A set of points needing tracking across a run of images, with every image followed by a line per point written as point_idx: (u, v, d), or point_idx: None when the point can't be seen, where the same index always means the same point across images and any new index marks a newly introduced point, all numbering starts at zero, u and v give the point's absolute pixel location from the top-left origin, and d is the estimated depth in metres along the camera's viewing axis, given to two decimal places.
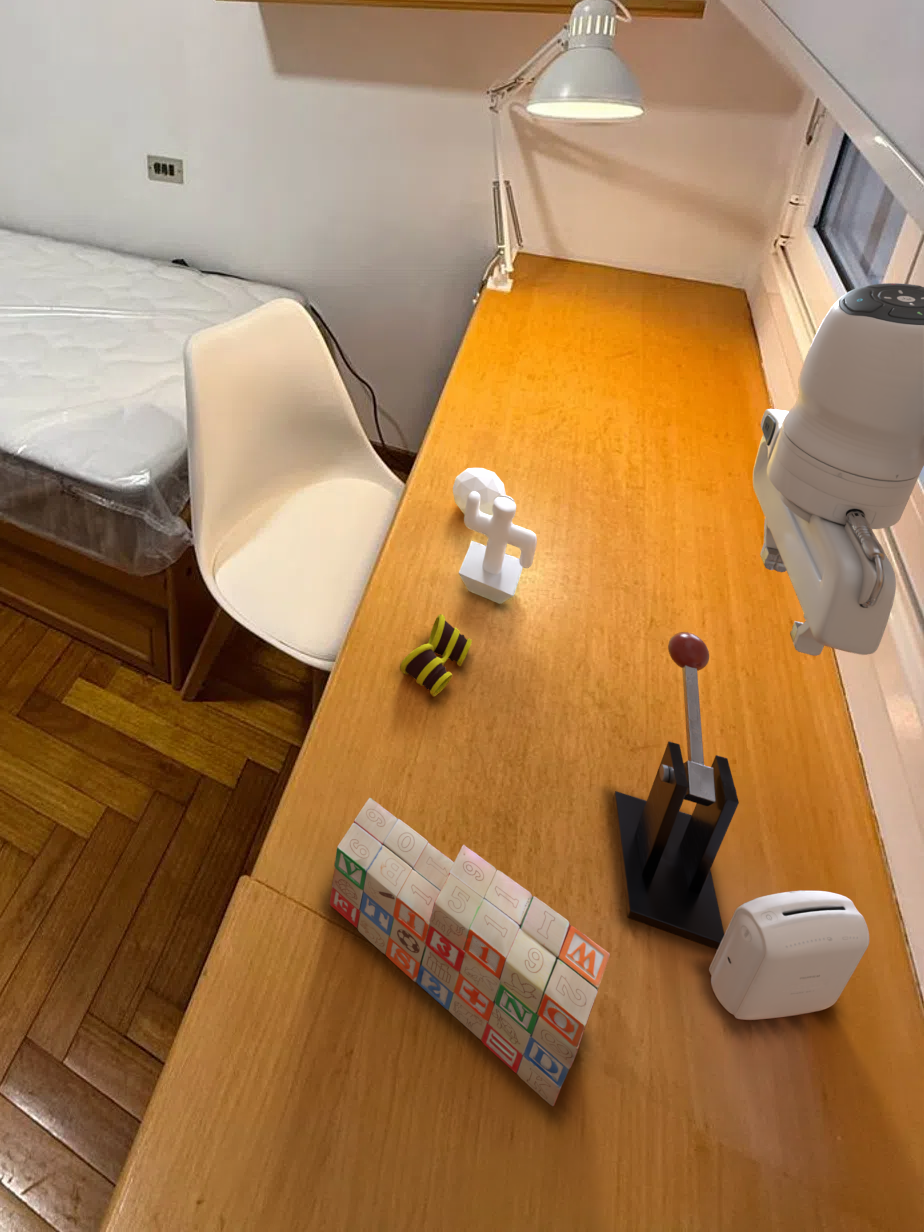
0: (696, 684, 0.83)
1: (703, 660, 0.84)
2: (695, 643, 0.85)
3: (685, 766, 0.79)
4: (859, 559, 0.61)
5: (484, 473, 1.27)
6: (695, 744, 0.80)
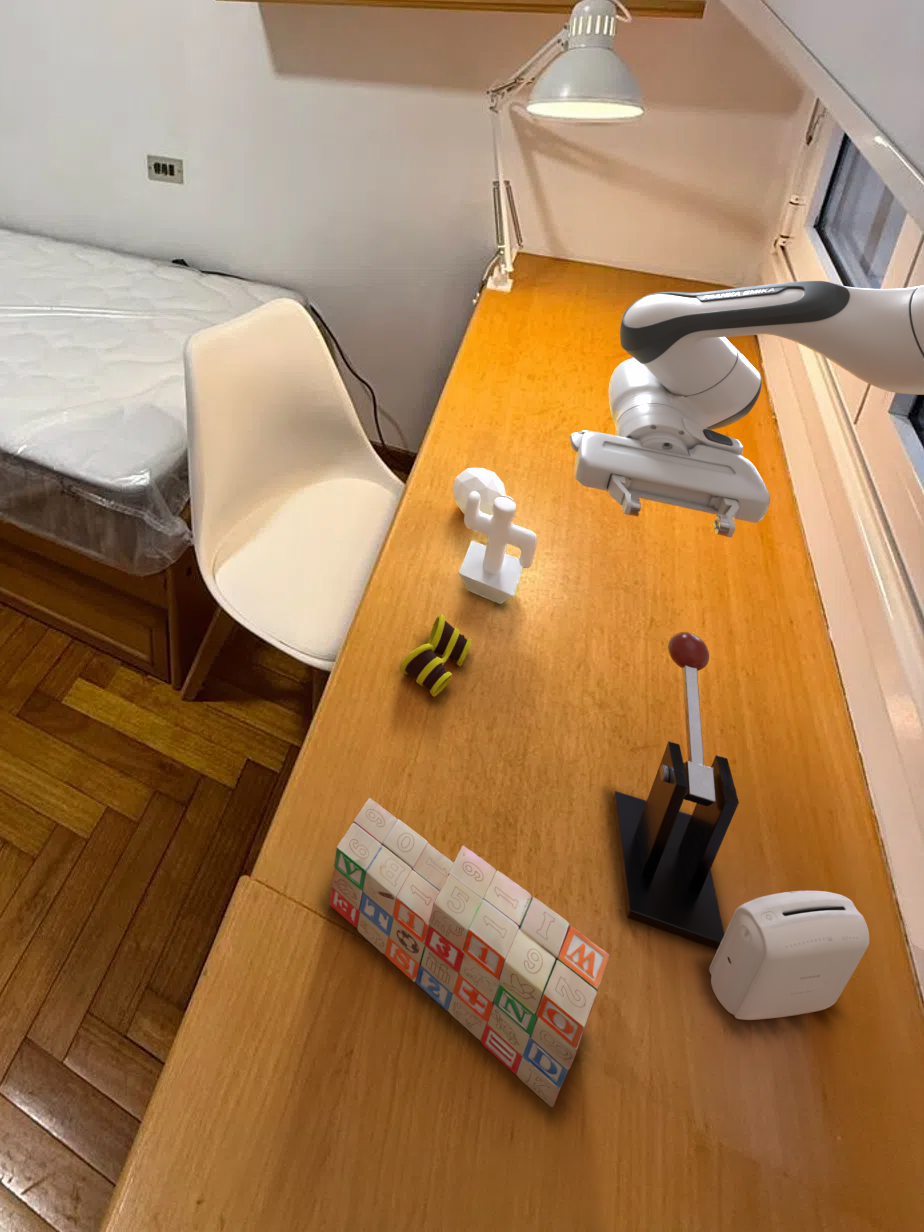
0: (696, 684, 0.83)
1: (703, 660, 0.84)
2: (695, 643, 0.85)
3: (685, 766, 0.79)
4: None
5: (484, 473, 1.27)
6: (695, 744, 0.80)
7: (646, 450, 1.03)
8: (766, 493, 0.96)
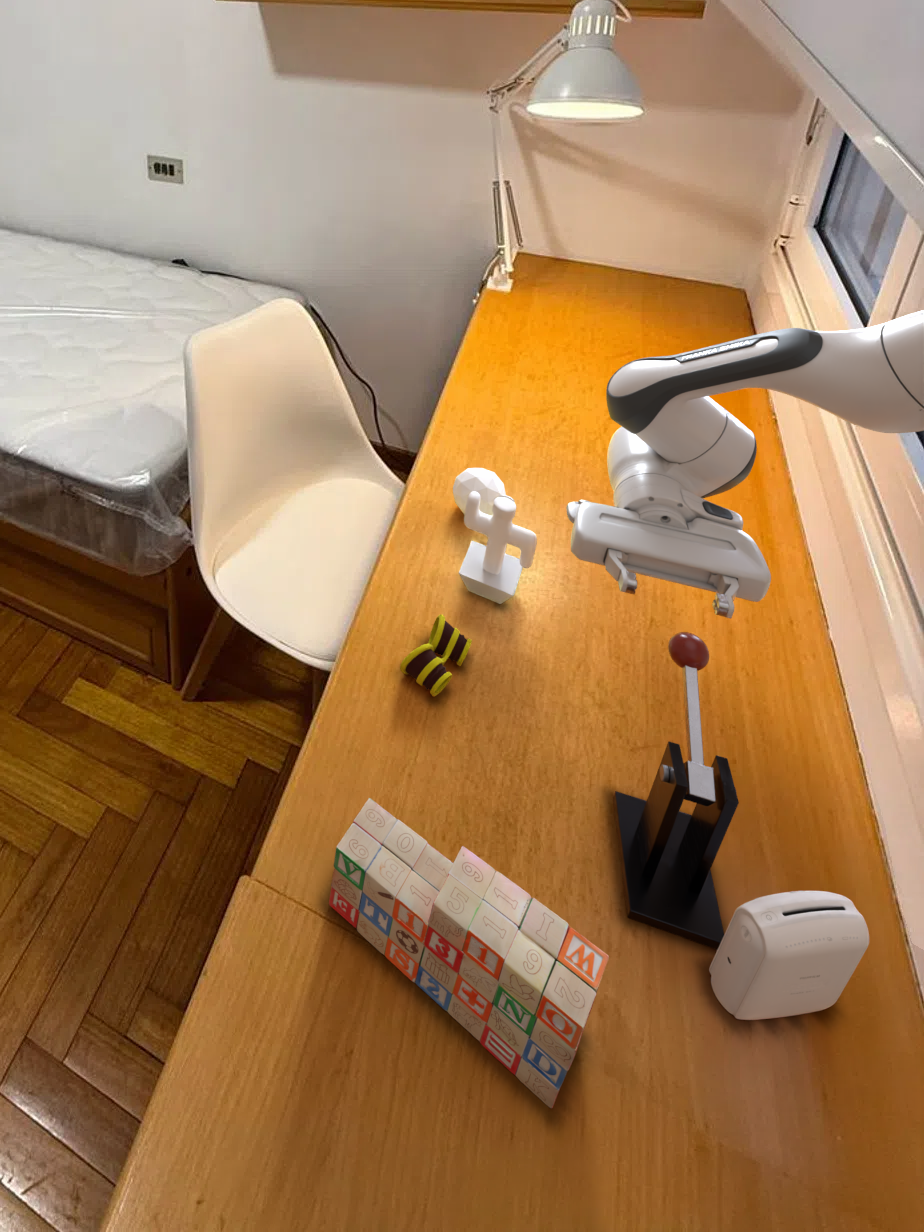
0: (696, 684, 0.83)
1: (703, 660, 0.84)
2: (695, 643, 0.85)
3: (685, 766, 0.79)
4: None
5: (484, 473, 1.27)
6: (695, 744, 0.80)
7: (643, 522, 1.01)
8: (767, 571, 0.93)
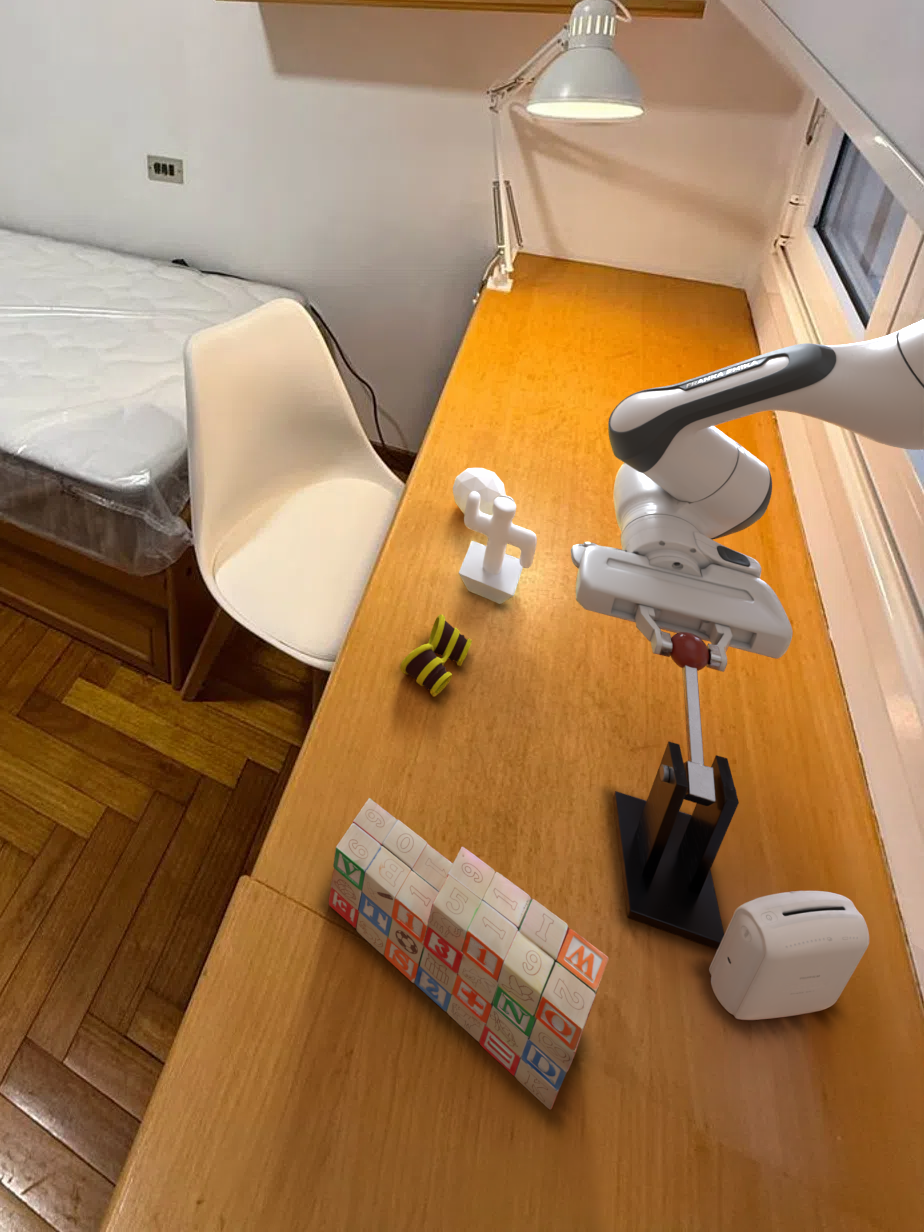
0: (696, 684, 0.83)
1: (703, 660, 0.84)
2: (695, 643, 0.85)
3: (685, 766, 0.79)
4: None
5: (484, 473, 1.27)
6: (695, 744, 0.80)
7: (654, 569, 0.94)
8: (788, 626, 0.86)
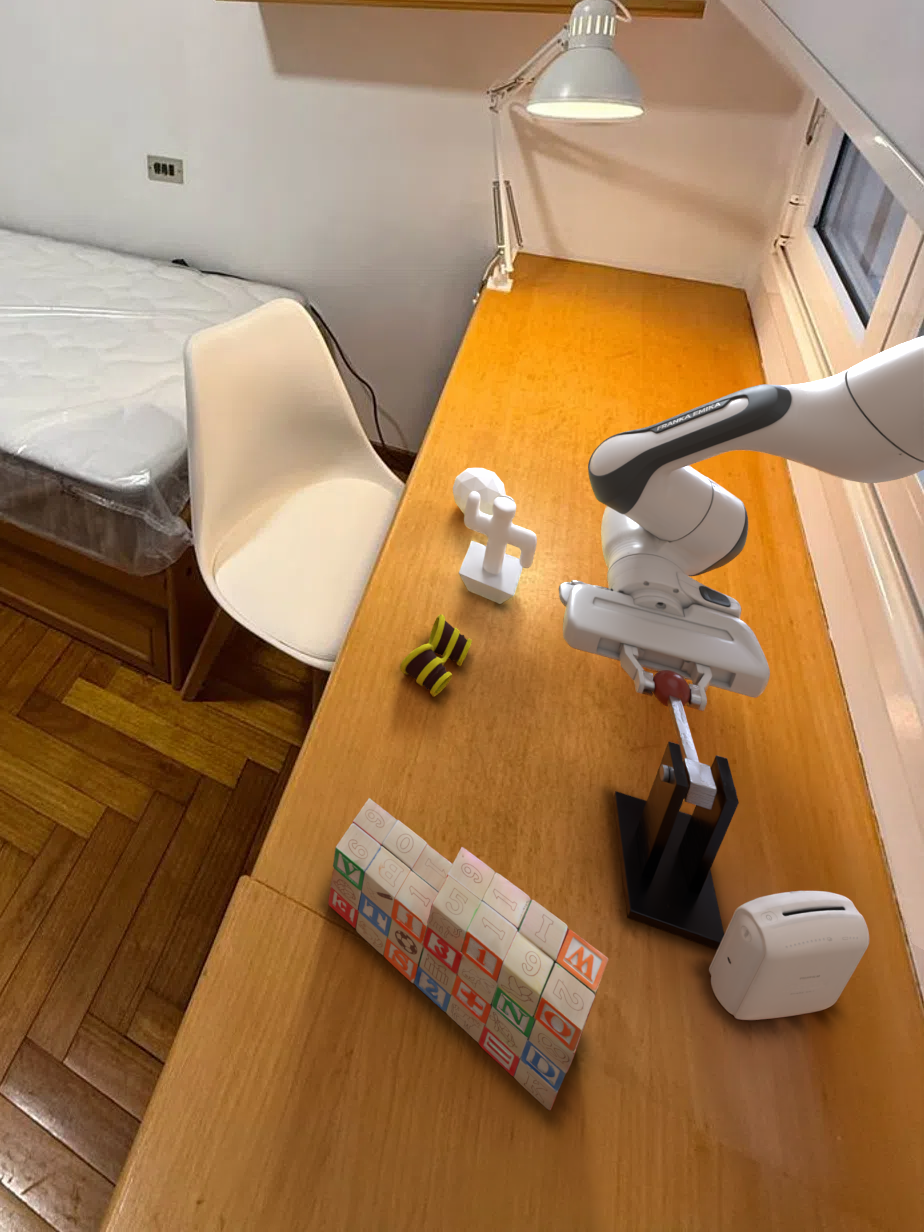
0: (682, 709, 0.86)
1: (685, 689, 0.88)
2: (675, 673, 0.89)
3: None
4: None
5: (484, 473, 1.27)
6: (689, 751, 0.81)
7: (638, 608, 0.97)
8: (765, 667, 0.90)
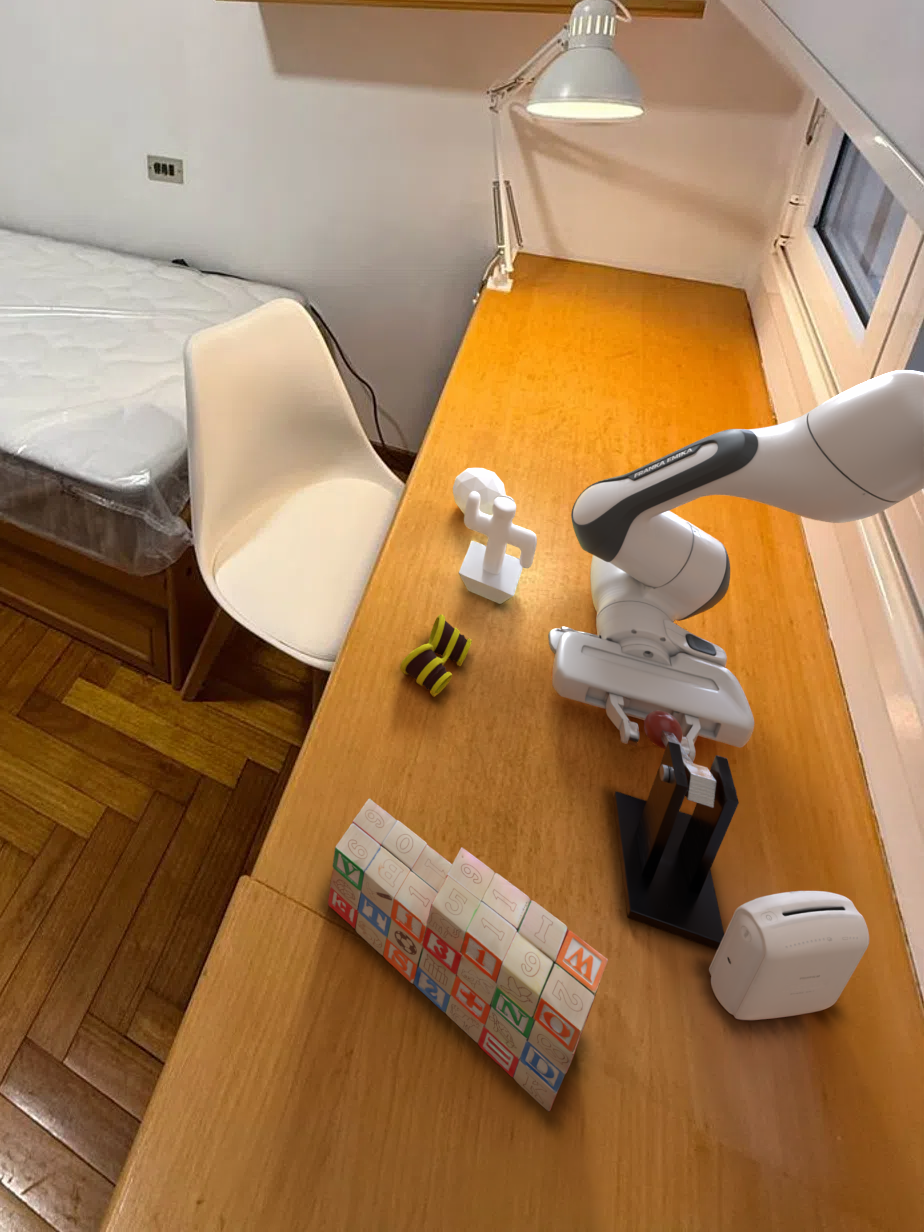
0: (675, 738, 0.86)
1: (677, 725, 0.88)
2: (666, 712, 0.90)
3: None
4: None
5: (484, 473, 1.27)
6: (686, 762, 0.81)
7: (626, 656, 0.99)
8: (750, 717, 0.92)
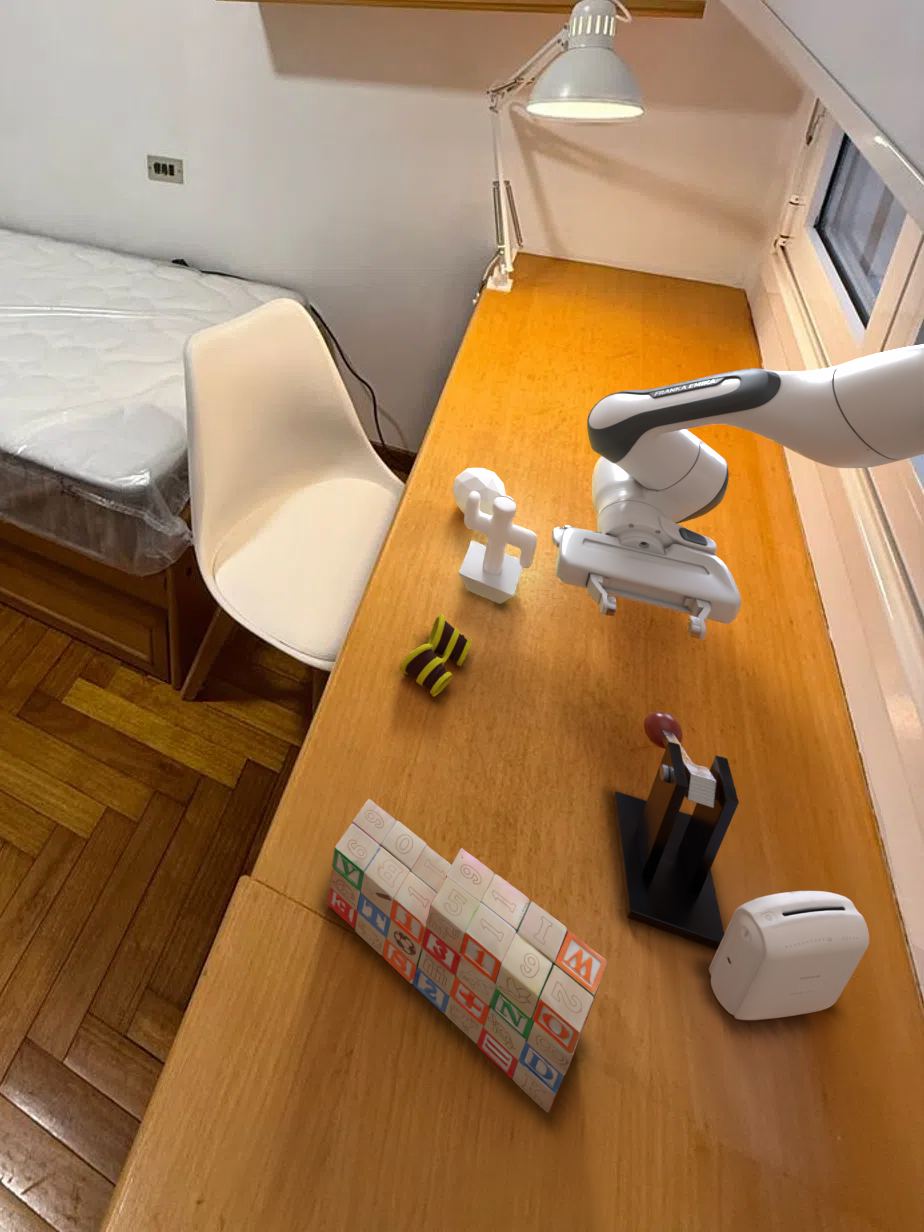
0: (675, 738, 0.86)
1: (677, 725, 0.88)
2: (666, 712, 0.90)
3: None
4: None
5: (484, 473, 1.27)
6: (686, 762, 0.81)
7: (624, 548, 1.08)
8: (737, 595, 1.00)
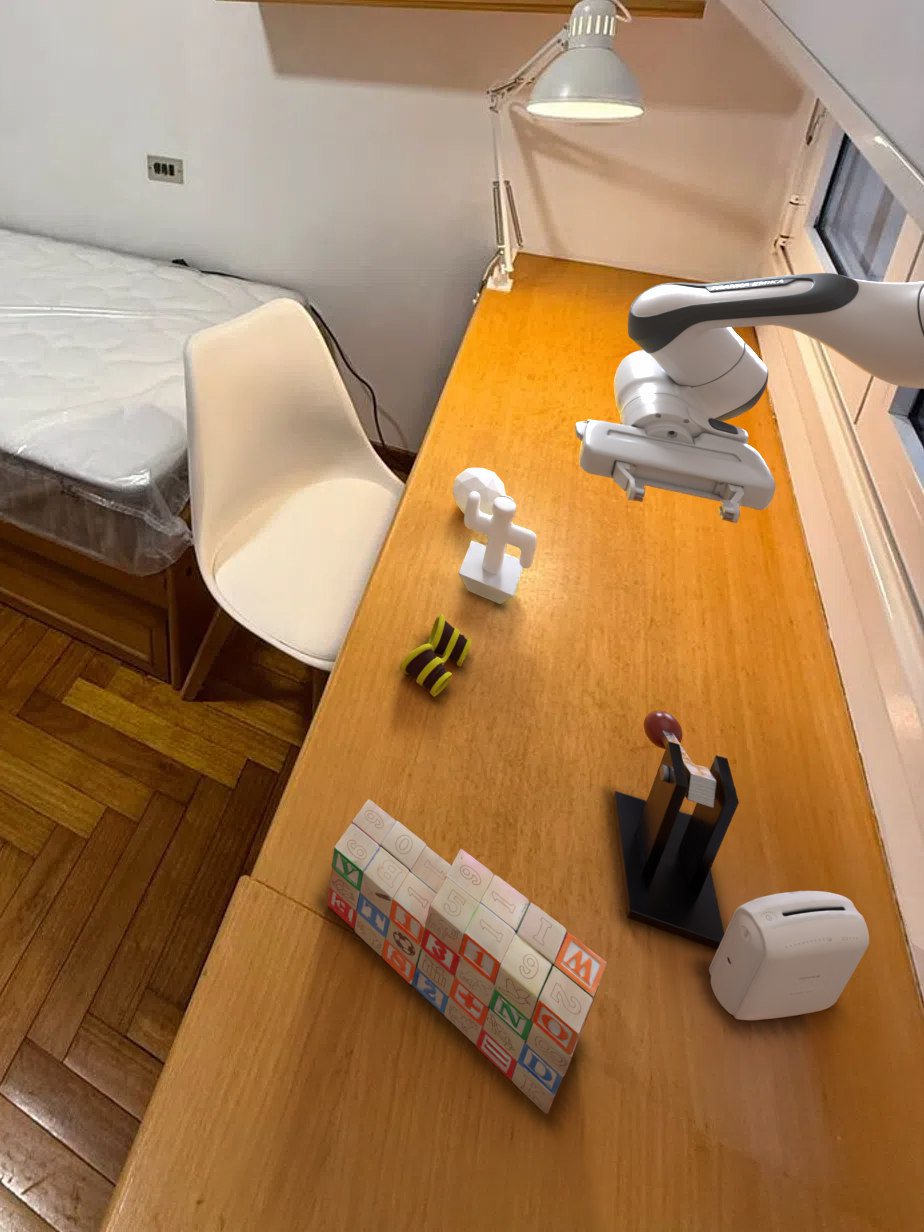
0: (675, 738, 0.86)
1: (677, 725, 0.88)
2: (666, 712, 0.90)
3: None
4: None
5: (484, 473, 1.27)
6: (686, 762, 0.81)
7: (650, 438, 1.03)
8: (771, 480, 0.96)
